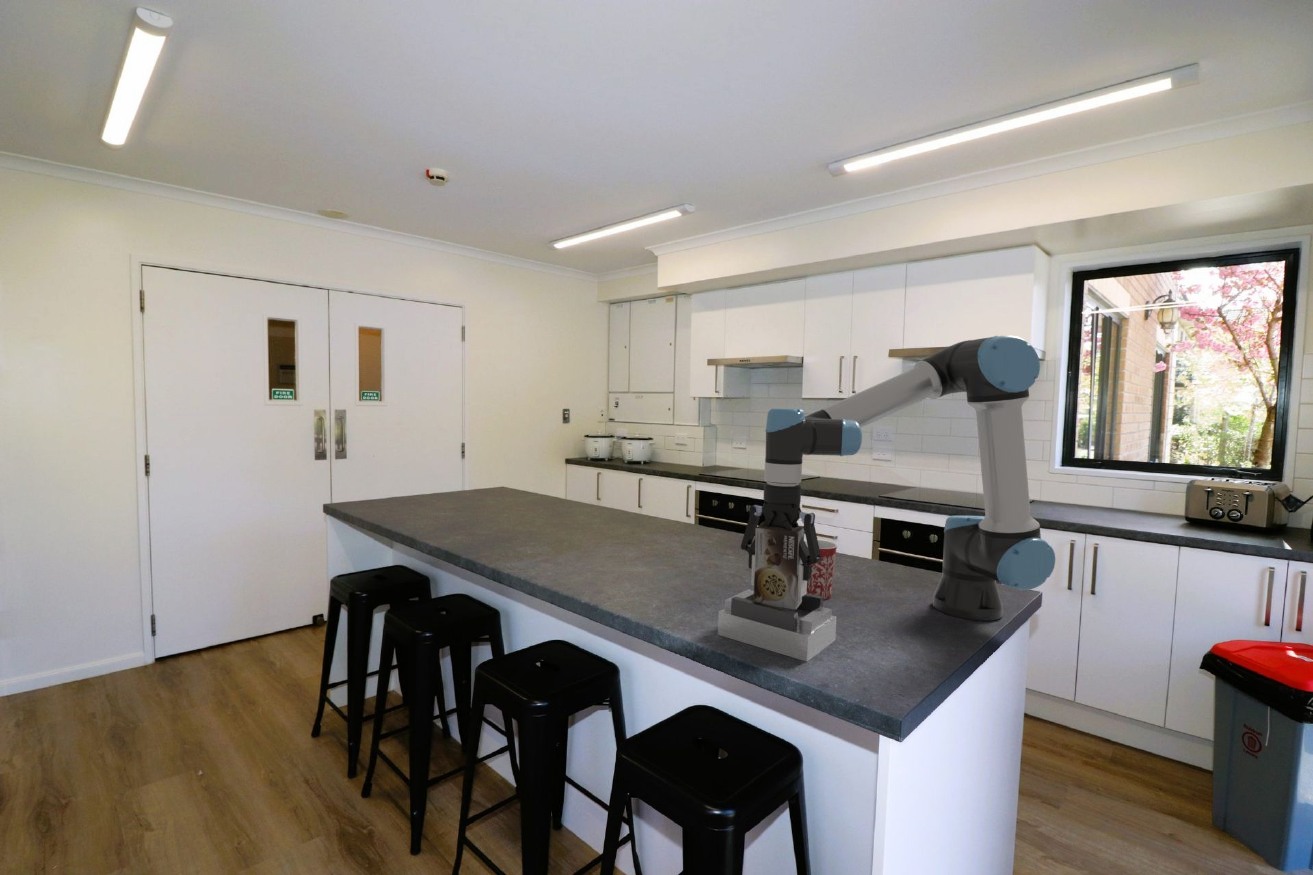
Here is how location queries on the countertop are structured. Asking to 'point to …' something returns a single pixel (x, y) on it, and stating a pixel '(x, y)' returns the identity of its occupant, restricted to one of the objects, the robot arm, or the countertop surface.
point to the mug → (823, 571)
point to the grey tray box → (779, 625)
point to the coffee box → (777, 566)
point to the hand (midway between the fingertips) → (778, 589)
